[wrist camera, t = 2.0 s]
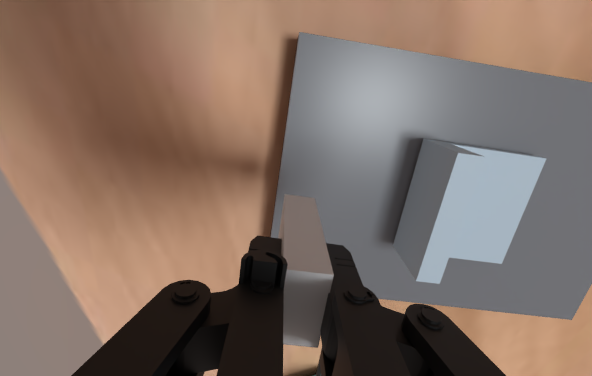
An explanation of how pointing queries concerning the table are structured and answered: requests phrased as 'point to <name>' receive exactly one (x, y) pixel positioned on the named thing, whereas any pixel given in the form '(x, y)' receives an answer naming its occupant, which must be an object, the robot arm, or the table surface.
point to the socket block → (404, 154)
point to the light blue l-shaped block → (463, 206)
